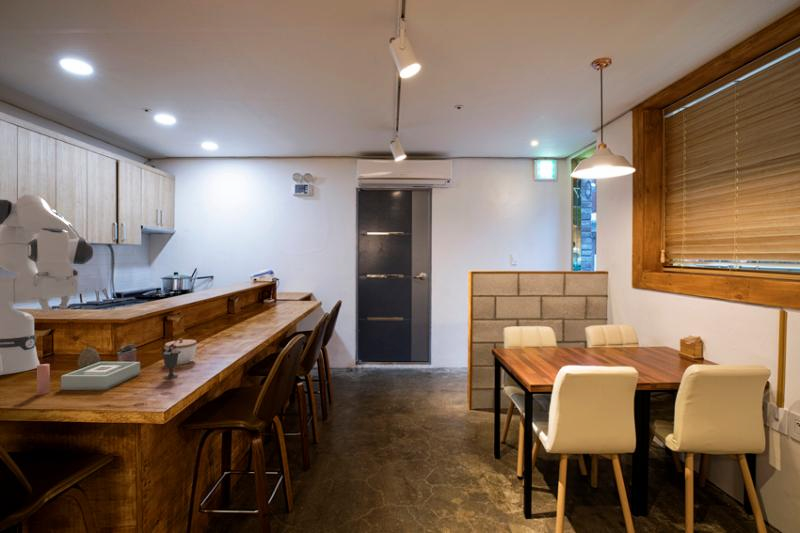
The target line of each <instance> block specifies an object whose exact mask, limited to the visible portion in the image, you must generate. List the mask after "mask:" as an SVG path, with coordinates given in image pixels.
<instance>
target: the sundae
mask: <svg viewBox="0 0 800 533" xmlns="http://www.w3.org/2000/svg"><path fill="white" fill-rule="evenodd" d="M177 340H178V339H177ZM177 340H175V341H177ZM176 347H177V346H174V344H171V346H168V347H167V348H166V349H165V347H162V348H161V350H162V352H161V353H160V354H161V355H162V357H163V363H164V366H165V368H166V369H168V371H169V373H168V374H167V375H166V376H164V377H163V379H164V380H174V379H176V378H178V377H179V375H177V374H174V372H173V371H174V370H173V369H174V368H175V367H176V366H178V364H177V360H178V355H179V353H180V351H179V350H178V349H177V348H176Z"/></svg>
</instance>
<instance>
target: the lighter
mask: <svg viewBox="0 0 800 533" xmlns="http://www.w3.org/2000/svg"><path fill="white" fill-rule="evenodd" d="M135 346H136V344H135V343H130V344H126V345H125V344H124V345H123V346H120V347H119V349H120V351H119V352H116V355H117V362H137V351H138V350H137V348H135Z"/></svg>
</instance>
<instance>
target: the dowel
mask: <svg viewBox="0 0 800 533" xmlns="http://www.w3.org/2000/svg"><path fill="white" fill-rule="evenodd" d="M50 366H51V365H50V363H43V364H42V363H41V364H40V365H38V366H37V368H36V382H37V383H36V395H37V396H44V395H47V393H48V394H50V392H51V383H50V382H51V380H50V379H51V378H50V370H51V369H50V368H51V367H50Z"/></svg>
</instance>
